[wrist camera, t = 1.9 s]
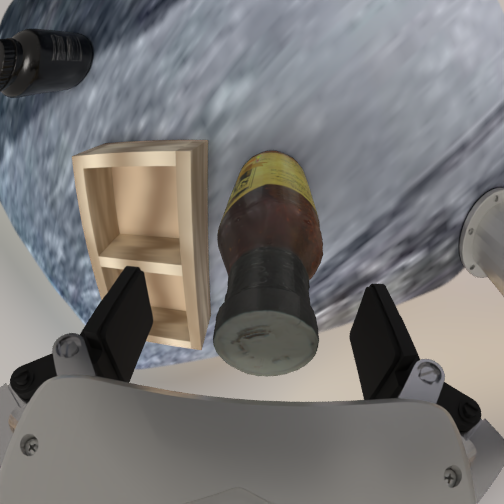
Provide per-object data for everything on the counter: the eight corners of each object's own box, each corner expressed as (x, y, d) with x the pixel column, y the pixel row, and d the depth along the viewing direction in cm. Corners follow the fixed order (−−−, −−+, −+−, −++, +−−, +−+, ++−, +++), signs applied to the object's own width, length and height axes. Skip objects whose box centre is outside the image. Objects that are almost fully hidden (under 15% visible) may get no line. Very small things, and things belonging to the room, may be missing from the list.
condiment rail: (207, 140, 25) (190, 151, 20) (210, 315, 36) (201, 350, 31) (105, 143, 26) (72, 156, 21) (130, 304, 37) (113, 334, 32)
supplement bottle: (60, 33, 19) (-17, 28, 8) (103, 36, 20) (23, 23, 9) (44, 86, 22) (-34, 101, 12) (83, 95, 23) (1, 109, 13)
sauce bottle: (242, 145, 26) (174, 252, 8) (309, 153, 25) (377, 276, 8) (237, 209, 29) (185, 378, 12) (298, 216, 29) (324, 393, 12)
